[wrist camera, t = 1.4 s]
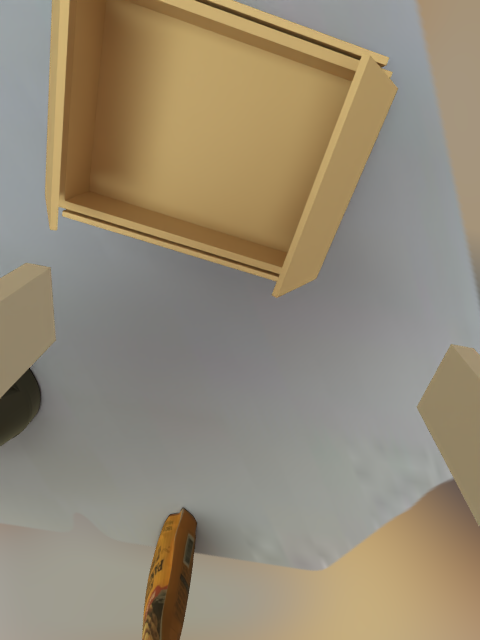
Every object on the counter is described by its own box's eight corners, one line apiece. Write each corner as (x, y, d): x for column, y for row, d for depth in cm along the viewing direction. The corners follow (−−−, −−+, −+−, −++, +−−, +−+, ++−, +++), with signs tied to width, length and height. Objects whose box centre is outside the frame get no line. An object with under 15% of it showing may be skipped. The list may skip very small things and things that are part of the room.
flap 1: (60, -33, 22) (72, -53, 17) (50, 195, 28) (57, 230, 23) (53, -36, 22) (62, -58, 17) (45, 195, 28) (49, 229, 23)
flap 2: (311, 276, 30) (271, 295, 24) (392, 87, 24) (362, 53, 18) (316, 278, 30) (276, 297, 24) (398, 88, 23) (370, 55, 18)
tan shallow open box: (83, 201, 34) (54, 213, 29) (103, -29, 26) (68, -60, 21) (298, 267, 35) (302, 289, 31) (376, 70, 28) (398, 61, 23)
